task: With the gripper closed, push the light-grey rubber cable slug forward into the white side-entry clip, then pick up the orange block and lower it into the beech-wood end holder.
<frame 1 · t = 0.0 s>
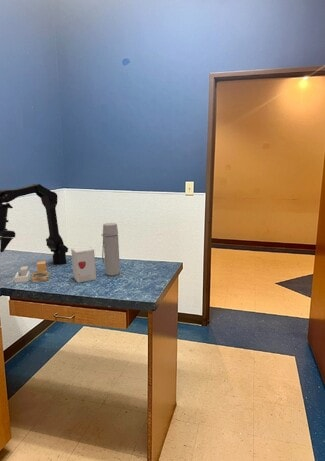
clip: (22, 279, 160), on the table
orange block: (42, 272, 170), on the table
water bottle: (111, 273, 165), on the table
holder: (40, 278, 160), on the table
cable slug: (24, 274, 167), on the table
supplement box: (84, 278, 159), on the table
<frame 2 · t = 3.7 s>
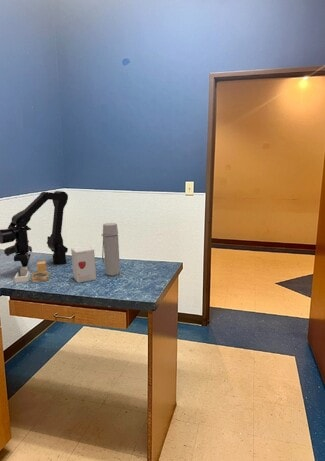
hand: (25, 269, 170), 1 cm above the table, tool pointing down, fingers closed
cable slug: (24, 274, 167), on the table, touching gripper
everything else where it was.
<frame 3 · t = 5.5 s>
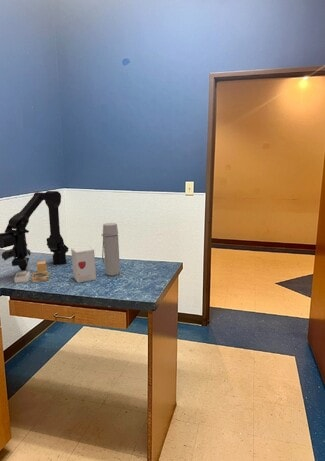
hand: (23, 273, 164), 1 cm above the table, tool pointing down, fingers closed
cable slug: (23, 279, 160), on the table, touching gripper
everything else where it was.
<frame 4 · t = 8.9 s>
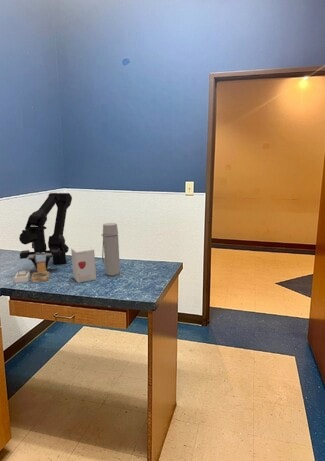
hand: (42, 269, 170), 1 cm above the table, tool pointing down, fingers closed on orange block, 4 cm apart
orange block: (42, 271, 170), on the table, touching gripper
cable slug: (23, 279, 160), on the table
everything else where it was.
when the fingers open (4 cm above the table, at t = 12.1 s): orange block drops 2 cm, on the table.
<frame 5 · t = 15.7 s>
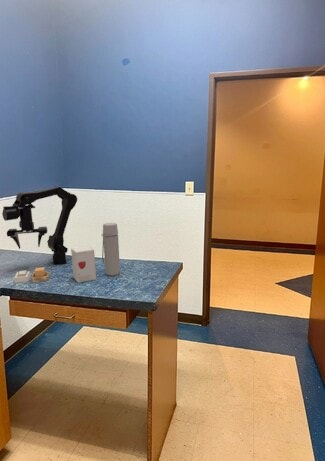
hand: (29, 247, 171), 12 cm above the table, tool pointing down, fingers open, 9 cm apart
orange block: (40, 278, 160), on the table
everything else where it was.
at the end: orange block 0.0 cm off-centre on the holder, point 0.0 cm above the holder's base; orange block tilted 0°; cable slug 0.1 cm from the target spot, on the table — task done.
